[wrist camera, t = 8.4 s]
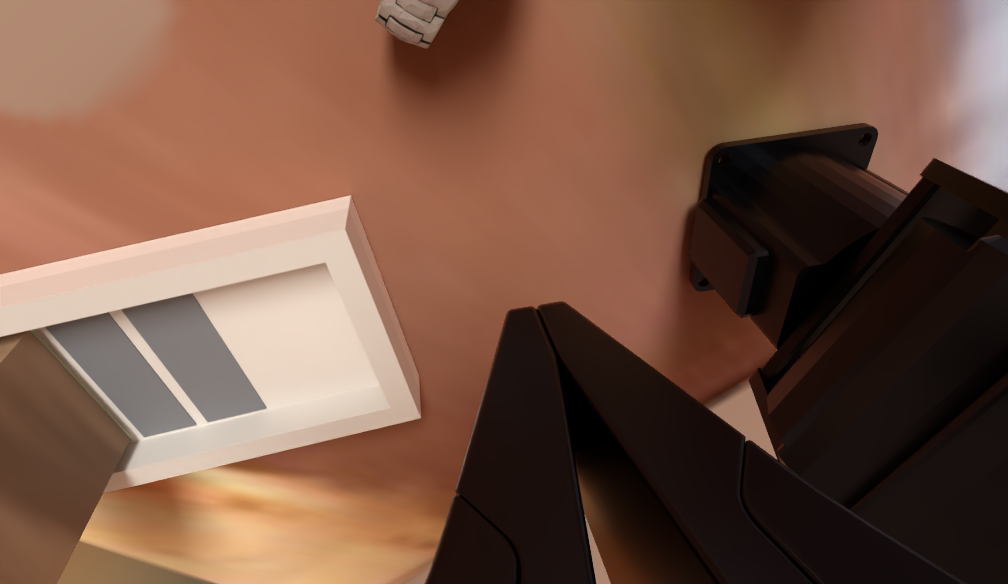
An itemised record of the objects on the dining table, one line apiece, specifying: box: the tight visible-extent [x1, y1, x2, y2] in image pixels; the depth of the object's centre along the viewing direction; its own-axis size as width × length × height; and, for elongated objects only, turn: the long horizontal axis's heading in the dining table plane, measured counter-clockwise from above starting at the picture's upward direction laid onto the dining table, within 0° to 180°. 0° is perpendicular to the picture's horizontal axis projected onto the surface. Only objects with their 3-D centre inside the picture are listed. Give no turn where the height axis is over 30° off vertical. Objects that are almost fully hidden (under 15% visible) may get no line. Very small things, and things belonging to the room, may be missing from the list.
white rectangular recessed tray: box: [0, 195, 421, 493], centre depth 21 cm, size 17×9×2 cm, turn 100°
